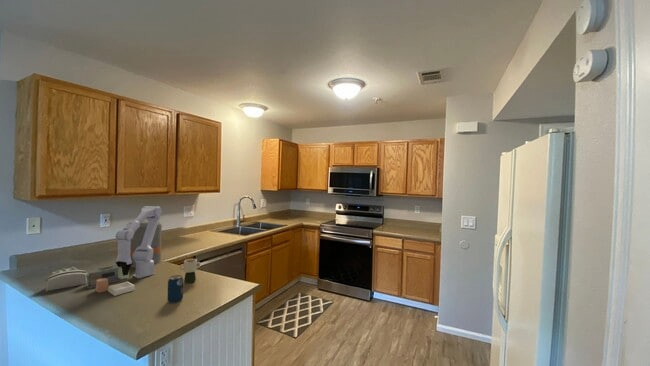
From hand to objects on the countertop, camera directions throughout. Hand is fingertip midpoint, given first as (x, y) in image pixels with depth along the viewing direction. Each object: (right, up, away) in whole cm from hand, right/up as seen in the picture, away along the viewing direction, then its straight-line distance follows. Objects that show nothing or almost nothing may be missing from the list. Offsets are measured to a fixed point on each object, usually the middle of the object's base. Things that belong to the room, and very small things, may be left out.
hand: (123, 274), depth 154 cm
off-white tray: (+5, -6, -8) cm, 11 cm away
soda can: (+40, -8, -18) cm, 44 cm away
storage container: (-16, -6, +40) cm, 44 cm away
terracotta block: (-6, -6, -8) cm, 12 cm away
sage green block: (0, -2, 0) cm, 2 cm away
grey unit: (-12, -6, +3) cm, 14 cm away
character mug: (+34, -7, +7) cm, 36 cm away
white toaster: (-41, -6, +10) cm, 43 cm away
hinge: (-28, -6, -4) cm, 29 cm away
